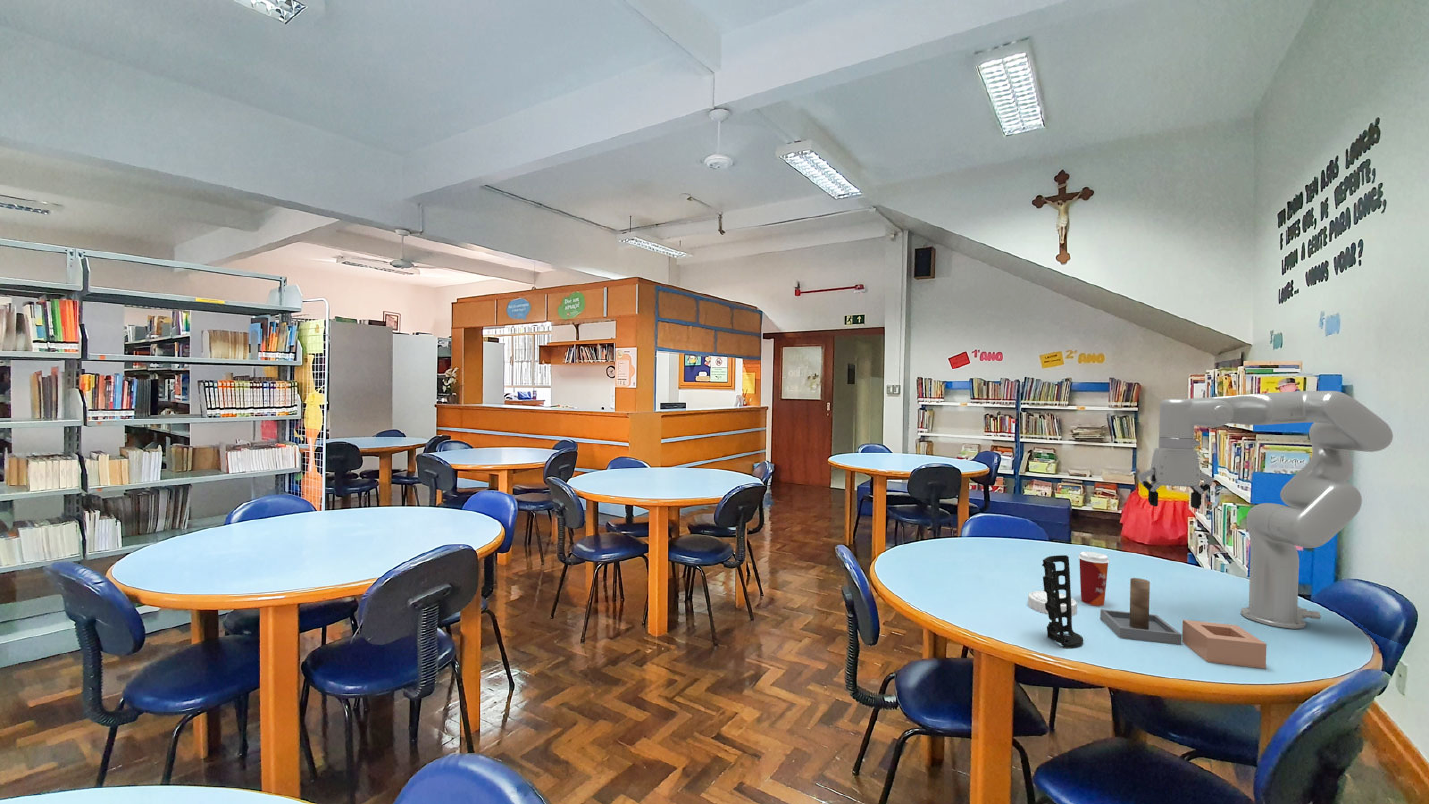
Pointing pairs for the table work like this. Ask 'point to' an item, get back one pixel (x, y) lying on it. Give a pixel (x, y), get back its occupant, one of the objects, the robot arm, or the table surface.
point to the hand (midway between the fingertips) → (1174, 506)
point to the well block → (1224, 644)
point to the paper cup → (1093, 577)
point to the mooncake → (1040, 598)
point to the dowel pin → (1139, 603)
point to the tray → (1156, 632)
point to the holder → (1059, 602)
